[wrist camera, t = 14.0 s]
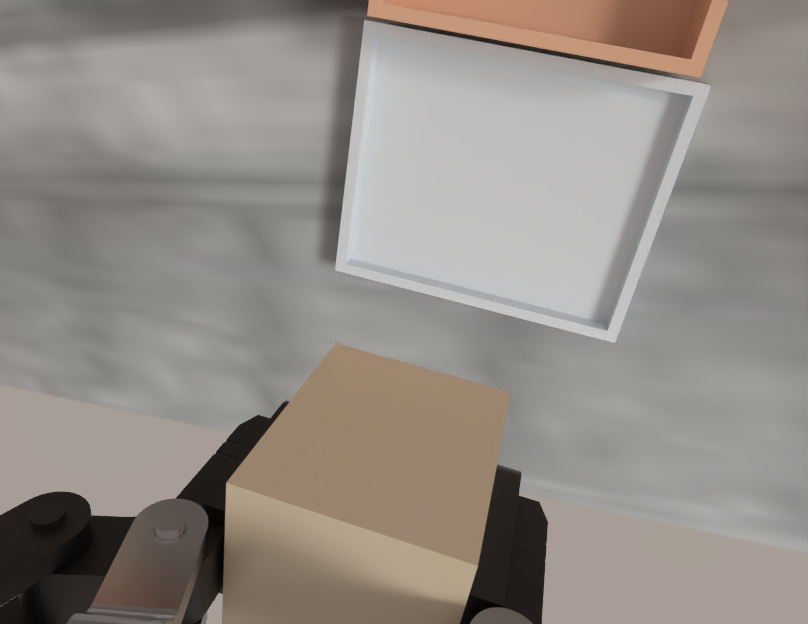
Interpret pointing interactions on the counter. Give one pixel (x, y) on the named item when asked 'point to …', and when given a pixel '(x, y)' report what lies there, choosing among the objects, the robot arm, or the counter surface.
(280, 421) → the beige wooden cube
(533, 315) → the tray
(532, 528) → the robot arm
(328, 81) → the counter surface
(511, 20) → the dish
